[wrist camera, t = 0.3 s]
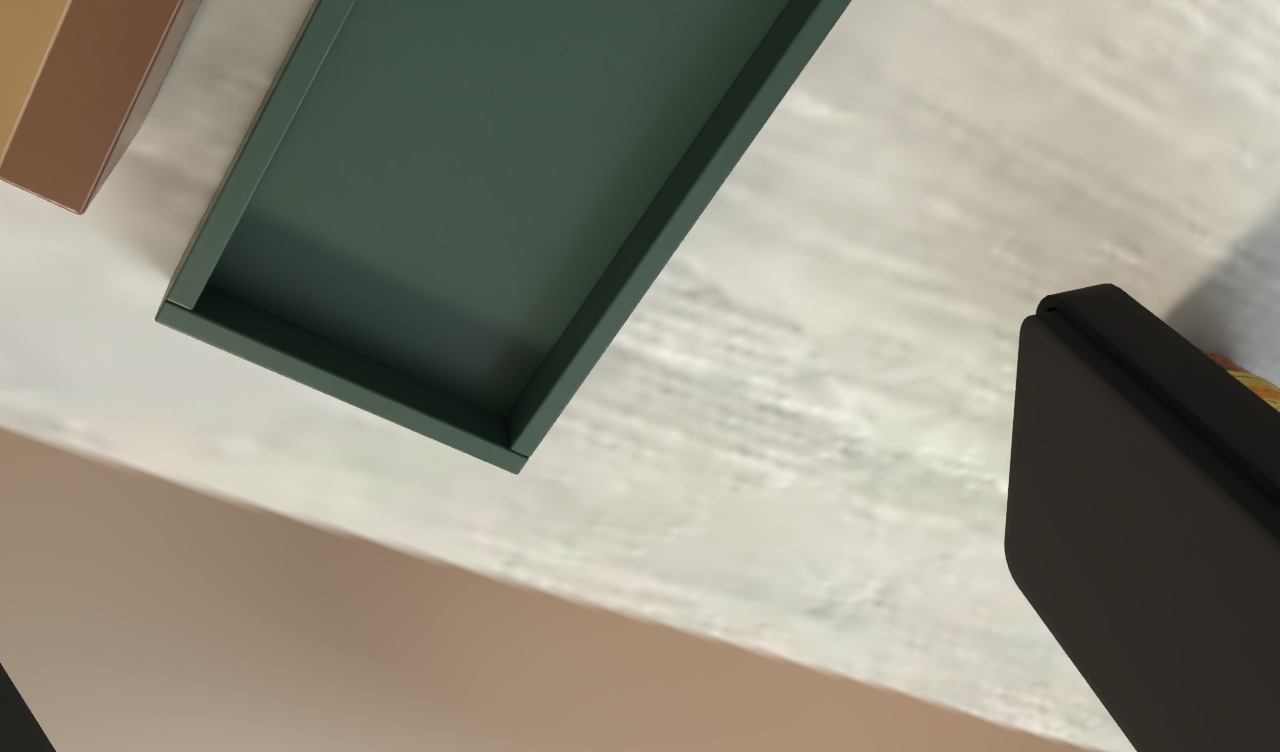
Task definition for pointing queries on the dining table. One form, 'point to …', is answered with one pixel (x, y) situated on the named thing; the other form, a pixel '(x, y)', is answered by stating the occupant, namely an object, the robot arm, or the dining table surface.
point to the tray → (477, 196)
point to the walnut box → (79, 88)
